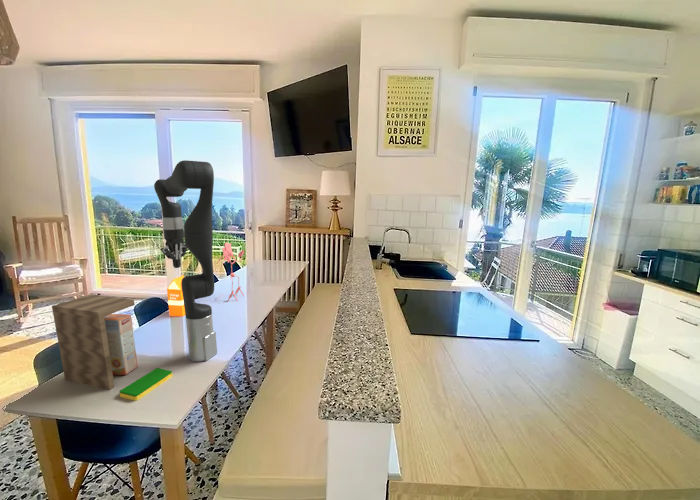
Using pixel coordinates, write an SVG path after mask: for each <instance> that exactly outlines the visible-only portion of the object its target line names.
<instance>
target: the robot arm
mask: <svg viewBox="0 0 700 500" xmlns="http://www.w3.org/2000/svg"><path fill="white" fill-rule="evenodd" d="M214 180H215V175H214V167H213V166H212V164H211V163H210V162H208V161H200V160H199V161H197V160H185V159H184V160H180V161H178V162H177V164H175V167H174V169H173V171H172V173H171V175H170V176H169V177H168V178H166V179H157V180H155V182H154V185H153V188H154V191H155V194H156V195H157V198H158V200H159V204H160V206H161V207H160V208H161V214H162V229H163V230H162V231H163V239H164V240H165V246H164V247H163V248H161V249H160V251H161V252H162V253H163V255H165V256H166V258H167V259H169V260H171V261H172V267H173V268H174V269H179V268H181V265H182V261H181V260H182V257H185V255H186V253H187V250H189V252H191V254H192V256H194V257H195V259H196V260H197V261H198V263H199V264H200V266H201V270H202V271H201V273H197V274H192V275H187V276H184V277H183V279H182V281H181V287H182V294H183V300H184V308H185V315H184V317H185V323H186V324H185V327H186V336H187V347H188V356H189V357H188V358H189V360H191V361H192V362H204V361H206V362H207V361H209V360H210V359H211V358H213V357H214V356H215V355H217V354H218V346H217V333H216V330H214V324H213V311H212V306H211V305H209V304H205V303H199V302H195V300H198V299H203V298H208V297H211V296H212V295H213V294H214V292H215V275H214V265H213V264H214V263H213V231H214V230H213V196H214V186H215V185H214V182H215V181H214ZM188 189H189V190H190V189H191V190H192V189H193V190H200V192H199V197H198V200H197V203H196V205H195V206H194V207H193V209H192V211H191V213H189V215H188V217H187V218H186V220H185V222H184V221H183V215H182V214H183V213H182V206H181V204H180V203H178V202H172V201H169V199H168V198H180V197H183V195H184V194H185V193H184V192H186V191H187V190H188Z"/></svg>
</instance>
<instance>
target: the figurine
mask: <svg viewBox="0 0 700 500" xmlns="http://www.w3.org/2000/svg"><path fill="white" fill-rule="evenodd" d="M232 249H233V248H232V242H230V243H228V242H227V241H226V242H225V243H224V247H222V248H221V250H222V255H221V256H220V258H219V260H217V262H216V264H218V263H219V262H220V261H221V260H222V259H223V261H224V262H226V261H227V263H228V264H229V263H230V269H231V271H230V274H229V276H230V278H231V279H230V280H231V288H233V287H234V286H233V284H234V282H233V278H234V277H236V278H238V280H237V283H238V284H240V276H239V275H238V276H237V275H236V274H235V272H233V265H234V264H235V263H237V262H240V263H242V261H243V255H244V254H245V250H244V249H243V250H240V251H239V253H238V255H237V256H238V258H240V260H236V258H235V256H234V252H233V250H232ZM231 257H232V258H233V260H234V261H233V262H232V260H231ZM239 291H240V293H241V294H242V296H244V292H243V291H242V290H241V286H240V285H239V286H237V288H236V290H235V291H234V290H231V293H230V294H229V297H228V299H227V302H229V300H230V299H231V298H232V296H234V299H236V301H238V298H237V297H236V295H237V294H238V292H239ZM234 292H235V293H234ZM235 294H236V295H235ZM223 296H224V294H223V295H221V297H223ZM218 298H220V296H219V297H217V299H218Z"/></svg>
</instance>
